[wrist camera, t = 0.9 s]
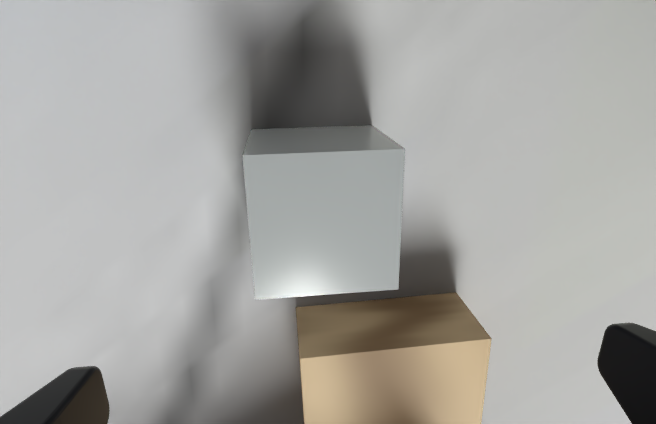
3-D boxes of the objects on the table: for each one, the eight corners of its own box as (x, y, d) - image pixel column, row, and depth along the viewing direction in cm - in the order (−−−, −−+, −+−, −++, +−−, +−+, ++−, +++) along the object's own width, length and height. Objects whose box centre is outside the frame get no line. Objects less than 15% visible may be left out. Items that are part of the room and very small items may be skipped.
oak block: (453, 289, 21) (491, 338, 18) (444, 411, 24) (474, 476, 21) (295, 304, 21) (299, 358, 17) (304, 428, 23) (309, 499, 20)
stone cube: (371, 124, 18) (405, 148, 13) (369, 234, 20) (398, 289, 15) (251, 129, 17) (242, 155, 13) (260, 240, 19) (254, 300, 14)
